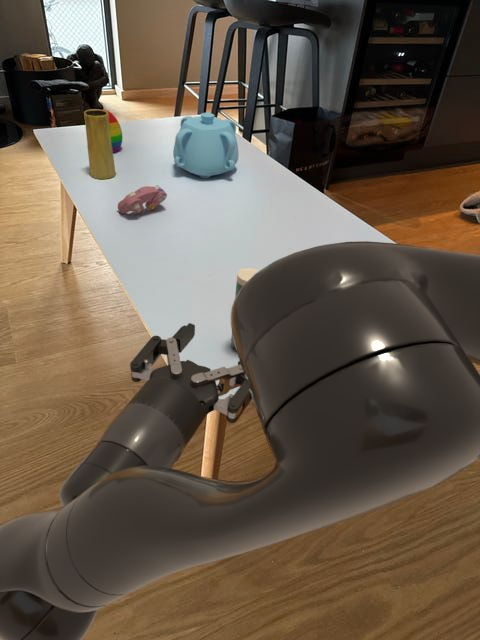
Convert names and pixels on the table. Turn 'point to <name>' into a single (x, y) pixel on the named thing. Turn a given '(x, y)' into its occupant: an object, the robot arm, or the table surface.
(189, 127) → the decorative pot
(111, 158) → the vase
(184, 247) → the table surface
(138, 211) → the video game controller
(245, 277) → the cylinder
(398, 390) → the robot arm
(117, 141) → the decorative egg
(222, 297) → the table surface
